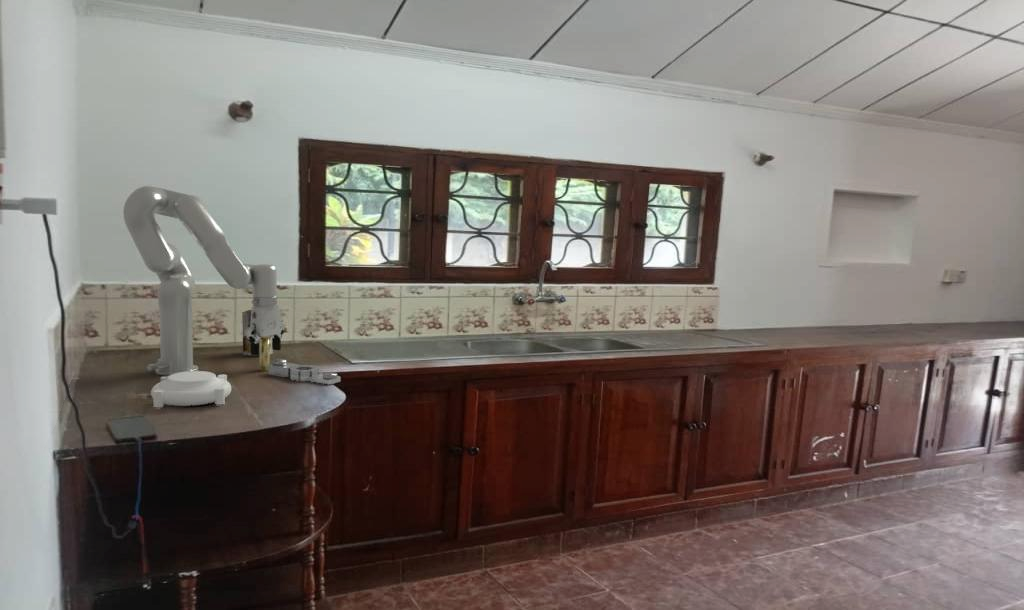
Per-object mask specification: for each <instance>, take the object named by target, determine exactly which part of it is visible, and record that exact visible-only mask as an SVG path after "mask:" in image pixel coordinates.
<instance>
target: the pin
mask: <svg viewBox="0 0 1024 610" xmlns="http://www.w3.org/2000/svg"><path fill="white" fill-rule="evenodd" d="M270 338H271V336H268V337H260V356H259V371H260V372H269V365H271V364H270V363H271V362H270V361H271V360H270V359H271V354H270Z"/></svg>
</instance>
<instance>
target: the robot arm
mask: <svg viewBox="0 0 1024 610" xmlns="http://www.w3.org/2000/svg"><path fill="white" fill-rule="evenodd" d="M155 214H156V215H160V216H164V217H168V218H174V219H177V220H179V221H180V223H181V224H182V225H183V226H184V228H185V229H186V230H187V231H188V233H189V234H190V235H191V236H192V237H193V240H194V241H195V242H196V243H197V245H198V246H199V247H200V248H201V251H202V252H203V254H204V255H205V256H206V257H207V258H208V260H209V262H210V263H211V264H212V266H213V267H214V268H215V270H216V271H217V272H218V274H219V276H221V278H223V280H224V281H225V282H226V284H227V285H228V286H229V287H231V288H233V289H236V290H241V289H245V288H246V287H247V286H252V300H251V303H252V307H251V310H252V311H251V321H250V327H249V328H248V329H247V330H246V331H245V332H244V333H245V335H246V338H247V340H248V341H249V343H251V355H250V356H252V355H257V356H256V357H259V356H258V355H259V343H258V341H259V339H260V337H268V336H273V338H272V349H273V351H281V350H282V349H281V348H282V346H281V345H282V344H281V342H282V341H281V339H282V338H283V334H284V332H285V328H286V324H285V323H283V322H282V317H281V310H280V305H279V304H278V299H277V298H278V291H277V290H278V289H277V288H278V287H277V267H276V266H275V265H274V264H263V263H262V264H247V263H242V261H241V260H240V259H239V257H238V256H237V255H236V253H235V252H234V250H233V249H232V247H231V246H230V244H229V241H228V239H227V235H226V233H225V232H224V230H223V229H222V228H221V227H220V226H219V224H218V223H217V222H216V220H215V219H214V218H213V217H212V215H211V214H210V213H209V211H208V210H207V208H206V204H205V202H204V201H203V200H202V198H200V197H199V196H195V195H191V194H186V193H181V192H177V191H173V190H171V189H170V190H169V189H166V188H160V187H157V186H151V185H147V186H141V187H138V188H136V189H135V190H134V191H133V192H131V193H130V194H129V196H128V197H127V199H126V200H125V202H124V205H123V220H124V224H125V226H126V228H127V230H128V232H129V233H130V237H131V238H132V240H133V242H134V245H135V247H136V248H137V250H138V252H139V254H140V257H141V258H142V260H143V262H144V265H145V266H146V268H147V269H148V271H151V272H153V273H154V274H156V276H157V277H158V279H159V281H160V283H159V285H158V287H157V299H158V300H157V301H158V311H159V312H158V313H159V314H158V315H159V340H160V342H159V344H160V347H159V348H160V352H159V353H160V358H158V359H157V362H156V363H150V364H147V365H146V369H147V371H150V372H151V371H154V370H155V373H156V374H157V375H159V376H170V375H172V374H175V373H180V372H188V371H199V366H198V365H196V364H194V345H193V344H194V339H193V338H194V337H193V335H194V333H193V331H194V329H193V308H192V306H193V305H192V296H193V295H194V294H195V291H196V282H195V280H194V276H192V274H191V272H190V271H191V270H190V269H189V267H188V266H187V263H186V262H185V260H184V257H183V256H182V254H181V252H180V250H178V248H177V247H176V246H175V245H174V244H172V243H170V242H168V241H167V239H166V237H165V236H164V234H163V232H162V229H161V228H160V226H159V224H158V222H157V221H156V219H155ZM251 335H252V336H251ZM255 337H256V338H255ZM254 338H255V339H254Z"/></svg>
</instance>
